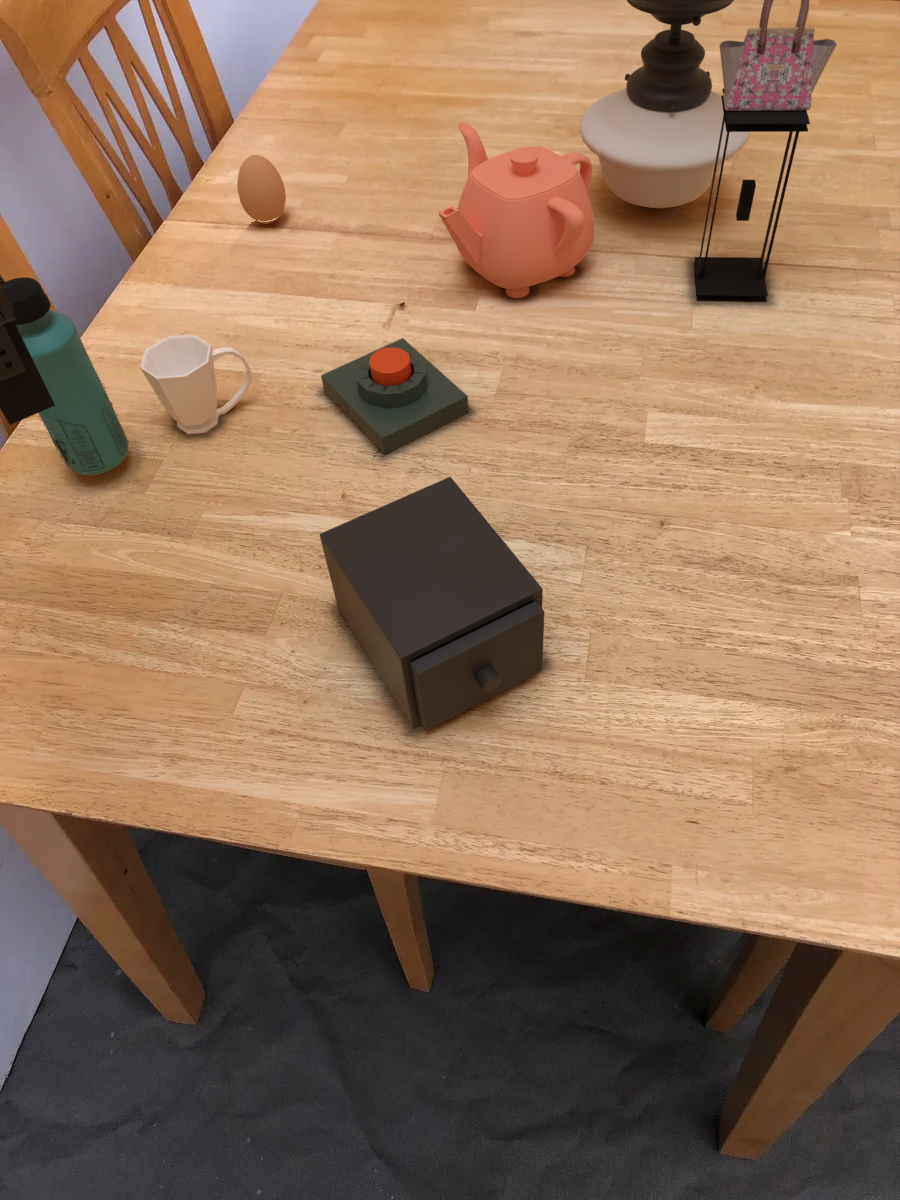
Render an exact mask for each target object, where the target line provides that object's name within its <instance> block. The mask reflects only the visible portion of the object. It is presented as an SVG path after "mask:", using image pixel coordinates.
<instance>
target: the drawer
mask: <svg viewBox="0 0 900 1200" xmlns="http://www.w3.org/2000/svg"><path fill="white" fill-rule="evenodd" d="M544 630H545V609H543V606H542V607H541V606H540V605H539V604H538V603H537V601H534V602H532V603H530V604H528V605H526V606H523V607H521V608H519V609H518V607H517V608H515V609H513V610H511V611H509V612H507V613H505V614H503V615H501V616H499V617H497V618H495V619H493V620H491V621H489V622H487V623H485V624H483V625H481V626H479V627H477V628H475V629H473V630H471V631H469V632H467V633H465V634H463V635H461V636H458V637H456V638H454V639H452V640H450V641H448V642H446V643H444V644H442V645H440V646H438V647H436V648H434V649H432V650H430V651H428V652H426V653H424V654H422V655H420V656H418V657H416V658H414V659H412V660H411V661H412V662H410V667H411V673H412V679H413V685H414V691H415V698H416V704H417V710H418V716H419V721H420V722H421V726H422V727H423V729H424V730H425V731H426V732H427V731H429V730H431V729H433V728H435V727H437V726H438V725H440V724H443V723H444V722H446V721H448V720H450V719H452V718H454V717H456V716H458V715H460V714H462V713H464V712H467V711H468V710H470V709H472V708H473V707H476V706H477V705H479V704H481V703H483V702H484V701H487V700H489V699H491V698H493V697H495V696H497V695H499V694H500V693H502V692H504V691H506V690H508V689H511V688H512V687H514V686H516V685H518V684H520V683H522V682H523V681H525V680H527V679H529V678H531V677H534V676H535V675H537V674H539V673H541V672H542V671H543V656H544V637H545V636H544V633H545V631H544Z"/></svg>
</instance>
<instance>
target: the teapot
mask: <svg viewBox="0 0 900 1200" xmlns="http://www.w3.org/2000/svg"><path fill="white" fill-rule="evenodd" d="M457 127H458V129H459V132H460V133H461V136H462V137H463V139H464V142H465V145H466V151H467V161H468V163H467V165H468V166H467V179H466V182H465V184H464V187H463V190H462V193H461V195H460V198H459V201H458V205H457V208H456V207H455V206H453V205H448V206H447V207H446V208H443V209H442V210H440V211H439V212H438V216H439V218H440V219H441V221H442V223H443V224H444V227H445V228H446V230H447V231H448V233H449V235H450V237H451V239H452V240H453V242H454V243H455V246H456V249H457V250H458V252H459V254H460V255H461V256H462V258H463V259H464V260H465V262H466V263H467V264H468V266H469V267H471V268H472V269H473V270H474V271H475V272H477V274H479V275H480V276H482V277H483V278H484V279H485V280H487V281H489V282H490V283H492V284H494V285H495V286H497V287H499V288H502V289H505V294H506V295H507V296H508V297H511V298H513V299H519V298H525V297H527V296H528V295H529V293H530V287H531V286H535V285H539V284H542V283H545V282H548V281H551V280H554V279H555V278H558V277H560V278H567V277H570V276H572V275H574V274H575V272H576V268H575V267H576V266H577V265H578V264H579V263H580V262H582V260H583V259H584V258H585V257H586V256H587V254H588V252H589V251H590V249H591V247H592V245H593V243H594V239H595V221H594V214H593V208H592V202H591V198H590V195H589V192H588V190H589V187H590V184H591V181H592V177H593V164H592V162H591V160H590V159H589V158H588V157H587V156H586V155H585V154H582V153H581V152H577V151H576V152H575V151H574V152H573V151H572V152H568V153H566V154H564V155H562V156H561V155H560V154H558V153H556V152H554V151H553V150H551V149H548V148H546V147H544V146H540V145H531V146H524V147H520V148H515V149H512V150H510V151H506V152H503V153H500V154H498V155H495V156H493V157H491V158H488V155H487V152H486V150H485V146H484V144H483V141H482V139H481V137H480V135H479V133H478V132H477V130H476V129H475V128H474V127H473V126H472V125H470V124H468V123H467V122H459V123H458V124H457ZM576 164H579V168H577V166H576Z"/></svg>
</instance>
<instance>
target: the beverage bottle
mask: <svg viewBox="0 0 900 1200" xmlns="http://www.w3.org/2000/svg"><path fill="white" fill-rule="evenodd" d="M5 283H6V287H3V288H2V290H3V292H4V295H5V297H6V299H7V301H8V302H10V303H11V305H12V307H13V309H14V311H15V312H14V314H15V316H16V317H15V320H14V322H15V324H16V326H17V328H18V330H19V332H20V334H21V336H22V339H23V341H24V343H25V345H26V347H27V349H28V351H29V353H30V355H31V357H32V359H33V361H34V363H35V365H36V367H37V369H38V371H39V373H40V375H41V377H42V379H43V381H44V383H45V385H46V387H47V389H48V391H49V393H50V395H51V398H52V400H53V402H54V404H55V406H53V407H51V408H49V409H46V410H44V411H42V412H39V413H38V418H40V422H41V424H43V427H44V429H45V431H47V432H46V434H47V435H48V437H50V440H51V442H52V445H53V446H54V447H55V450H56V451H57V454H58V455H59V456H60V459H61V460H63V464H64V465H66V467H67V468H68V469H70V470H71V471H73V472H74V473H76V474H79V475H81V476H96V475H101V474H105V473H107V472H109V471H111V470H113V469H115V468H117V467H118V466H119V465H120V464H121V463H122V462H123V461H124V460H125V458H126V457H127V455H128V453H129V438H127V434H126V430H125V427H123V426H122V424H121V421H120V420H119V419H120V417H119V415H118V414H117V412H116V410H115V409H116V407H115V406H113V402H112V401H111V400H110V399H109V398H110V395H109V393H108V392H107V389H106V386H105V384H104V383H103V382H102V379H101V378H100V376H99V374H98V372H97V370H96V368H95V366H94V365H93V362H92V361H91V359H90V356H89V354H88V352H87V349H86V347H85V346H84V344H83V341H82V339H81V336H80V334H79V333H78V330H77V326H76V324H75V322H74V321H73V319H72V318H71V317H70V316H68V315H67V314H64V313H62V312H59V311H55V310H52V309H51V301H50V298H49V297H48V295H47V294H46V292H45V291H44V289H43V287H42V285H41V284H40V282H38V280H36V279H35V278H32V277H15V278H12V279H9V280H6V281H5Z"/></svg>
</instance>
